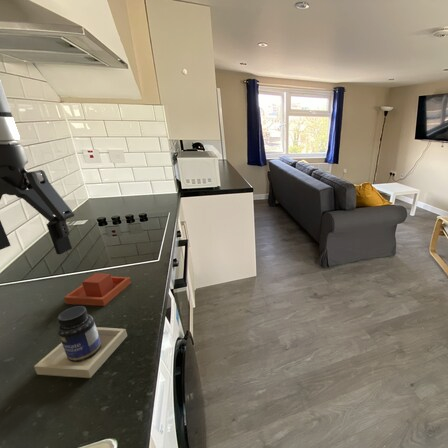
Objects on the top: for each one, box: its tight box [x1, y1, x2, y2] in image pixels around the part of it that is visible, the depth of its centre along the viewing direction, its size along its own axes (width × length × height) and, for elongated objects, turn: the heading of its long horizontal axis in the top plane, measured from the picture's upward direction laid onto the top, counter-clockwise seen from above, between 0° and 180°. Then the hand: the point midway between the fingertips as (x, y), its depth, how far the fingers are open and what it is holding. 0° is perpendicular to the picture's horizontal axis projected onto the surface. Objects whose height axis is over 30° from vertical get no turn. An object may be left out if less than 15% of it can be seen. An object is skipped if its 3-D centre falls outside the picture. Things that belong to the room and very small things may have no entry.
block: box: [81, 272, 114, 297], centre depth 80 cm, size 5×5×5 cm
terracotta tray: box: [63, 275, 132, 307], centre depth 81 cm, size 12×12×2 cm
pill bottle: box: [57, 305, 101, 362], centre depth 58 cm, size 6×6×11 cm
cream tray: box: [33, 326, 128, 379], centre depth 59 cm, size 12×12×2 cm
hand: (33, 250), depth 54 cm, fingers open, 13 cm apart
